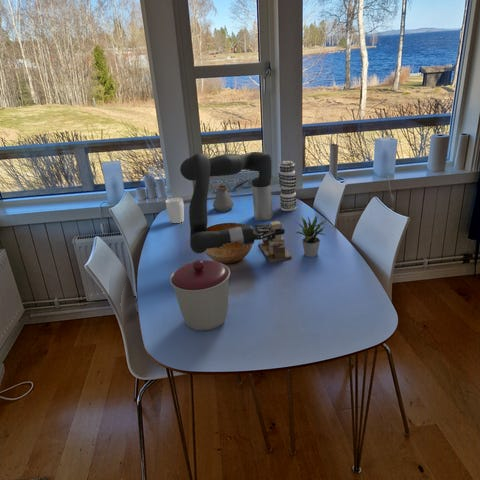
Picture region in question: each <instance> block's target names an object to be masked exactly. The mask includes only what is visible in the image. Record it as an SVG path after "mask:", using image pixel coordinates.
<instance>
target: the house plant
mask: <svg viewBox="0 0 480 480" xmlns="http://www.w3.org/2000/svg"><path fill="white" fill-rule="evenodd" d="M318 218H319V216H318V215H314V218H313V221H312V222H311V220H310V217H309V216H307V220H308V222H307V221H306V219H305V218H304V217H303V216H300V219H301V222H302V224H303V225H302V224H301V223H299V222H297V224H298V225H299V226H300V227H301V228H302V229H301V231H295V232H294V234H299V235H303V236H304V237H303V238H302V239H301V242H302V249H303V252H304V255H305V256H306V257H308V258H314V257H317V256H318V254H319V249H320V242H321V239H320V238H319V237H318V235H321V236H326V234H325V233H323V232H324V231H325V230H324V229H326V228H327V227H322V228H321V226H322V225H325V226H326V225H327V224H326V223H327V222H328V221H329V220H330V218H329V219H324V220H322V221H321V222H320V223H318V224H317V222H318Z"/></svg>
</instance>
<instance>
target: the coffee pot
mask: <svg viewBox="0 0 480 480" xmlns="http://www.w3.org/2000/svg"><path fill="white" fill-rule="evenodd" d="M246 183H249V184H250V180H249V179H246V181H243V182H241V183H239V184H237V185H236V186H234V187H232V188H230V189H228V186H227V185H226V184H225V185H224V184H223V185H222V184H221V185H217V186H216V187H215V190H216V194H215V197H214V201H213V204H212V207H213V209H215V210H216V211H217V210H218V211H217V212H219V211H225V212H228V211H227V210H229V209H230V210H231V209H232V208H233V206H234V201H233V200H232V198H231V196H230V194H229V193H230V192H232V191H233V190H235V189H237V188H239V187H241V186H243V185H244V184H246ZM227 189H228V190H227ZM230 210H229V211H230Z"/></svg>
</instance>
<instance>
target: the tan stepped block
mask: <svg viewBox="0 0 480 480" xmlns="http://www.w3.org/2000/svg"><path fill="white" fill-rule="evenodd" d="M269 226H270V230H276V229H281V226H282V223H281V222H280V220H275V221H270V222H269ZM274 244H279V245H284V246H285V239H284V237H283V236H282V234H281V235H276V236H275V238H274V239H272V240H269V251H270V253H271V254H274V249H273V246H274Z"/></svg>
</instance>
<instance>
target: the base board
mask: <svg viewBox="0 0 480 480" xmlns="http://www.w3.org/2000/svg"><path fill="white" fill-rule="evenodd" d="M258 246H259V248H260V249H261V251H262V252H263V254H264V256H265V257H266V259H267V261H268V262H269V263H274V262H279V261H280V262H281V261H285V260H290V259H292V258H293V257H292V255H291V253H289V251H288V250H287V248H286V247H285V244H284V245H277V246H273V249H274V254H271V253H270V251H269V241H267V242H263V241H259V242H258Z"/></svg>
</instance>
